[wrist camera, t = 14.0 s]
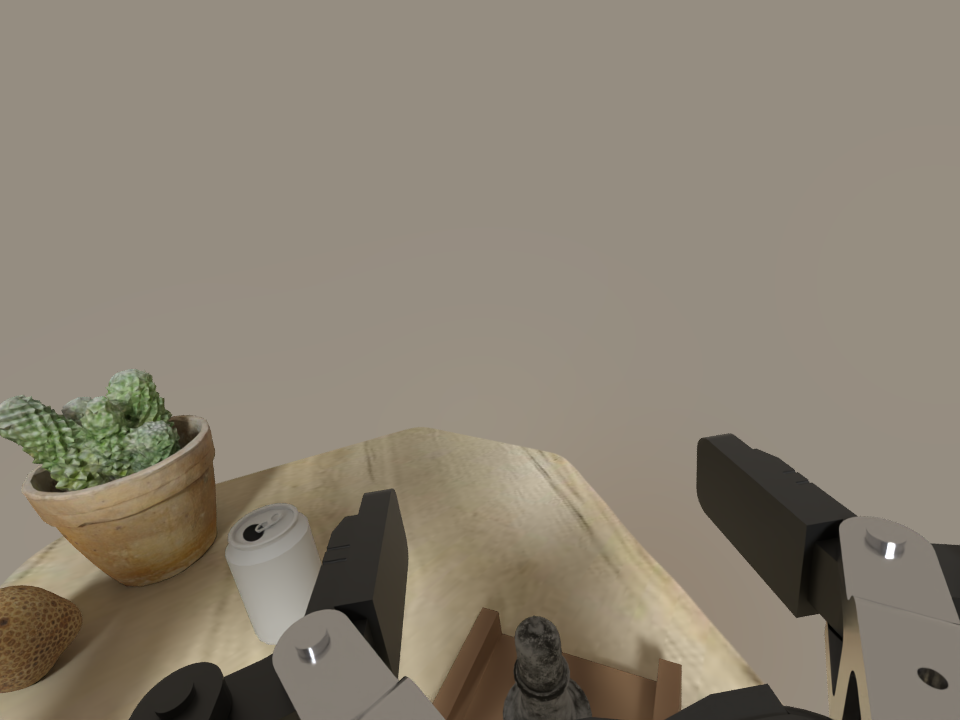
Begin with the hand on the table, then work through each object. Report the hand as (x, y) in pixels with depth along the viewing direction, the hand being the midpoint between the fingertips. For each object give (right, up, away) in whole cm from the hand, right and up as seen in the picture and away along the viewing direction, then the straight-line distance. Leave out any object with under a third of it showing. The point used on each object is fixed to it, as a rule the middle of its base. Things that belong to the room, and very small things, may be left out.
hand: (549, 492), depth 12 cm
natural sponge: (-45, -28, +33) cm, 62 cm away
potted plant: (-42, -22, +48) cm, 68 cm away
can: (-21, -23, +35) cm, 47 cm away
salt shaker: (+3, -23, +20) cm, 31 cm away
